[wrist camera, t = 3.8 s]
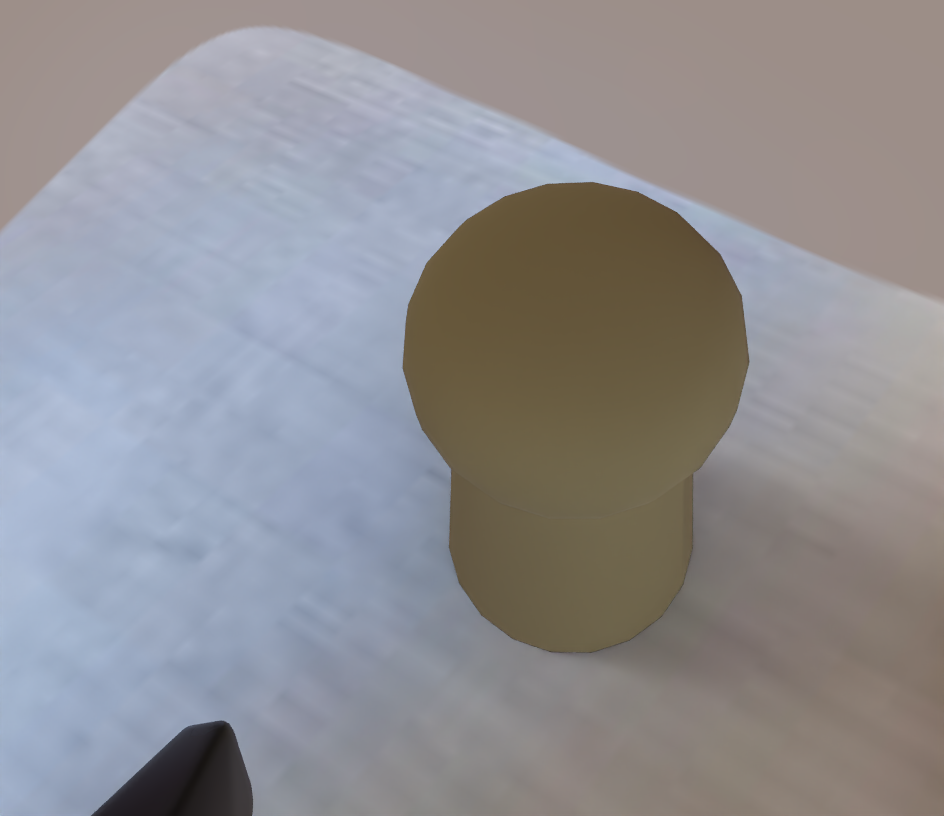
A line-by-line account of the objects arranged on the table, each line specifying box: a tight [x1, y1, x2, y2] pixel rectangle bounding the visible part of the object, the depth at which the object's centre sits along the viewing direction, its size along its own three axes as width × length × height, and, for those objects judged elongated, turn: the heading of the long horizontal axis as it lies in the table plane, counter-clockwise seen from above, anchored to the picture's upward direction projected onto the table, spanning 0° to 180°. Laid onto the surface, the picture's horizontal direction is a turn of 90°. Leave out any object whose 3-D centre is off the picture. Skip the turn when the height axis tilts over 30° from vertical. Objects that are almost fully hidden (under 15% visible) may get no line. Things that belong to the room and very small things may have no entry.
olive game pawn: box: [403, 182, 749, 652], centre depth 17 cm, size 6×6×11 cm
